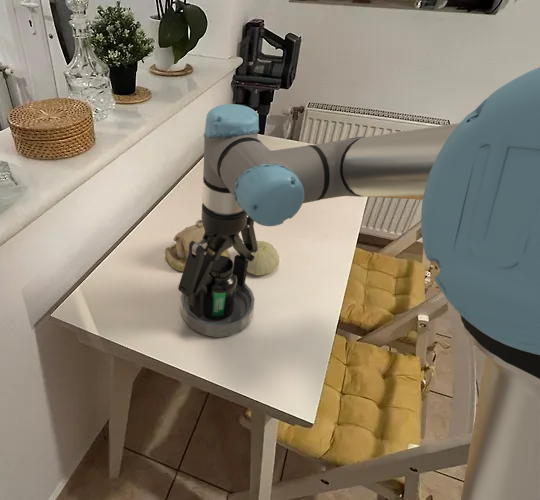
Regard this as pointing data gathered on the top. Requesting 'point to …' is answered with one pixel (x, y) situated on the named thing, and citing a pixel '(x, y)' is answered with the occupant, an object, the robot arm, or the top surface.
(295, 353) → the top surface
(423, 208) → the robot arm
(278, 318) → the top surface
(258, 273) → the sea urchin shell
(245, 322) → the dish
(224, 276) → the supplement bottle
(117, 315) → the top surface
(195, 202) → the top surface
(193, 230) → the ceramic model
